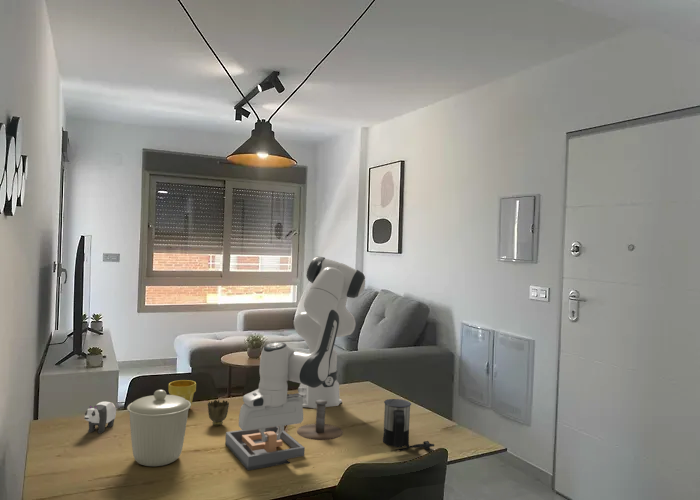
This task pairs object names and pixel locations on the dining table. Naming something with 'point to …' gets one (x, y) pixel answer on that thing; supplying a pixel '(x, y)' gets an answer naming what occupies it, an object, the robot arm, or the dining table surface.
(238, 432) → the tray
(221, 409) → the cup
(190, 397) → the plant pot
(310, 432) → the stand
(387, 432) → the milk frother
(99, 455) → the dining table surface
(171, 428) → the canister
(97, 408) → the giant panda
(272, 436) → the tabbed ring
